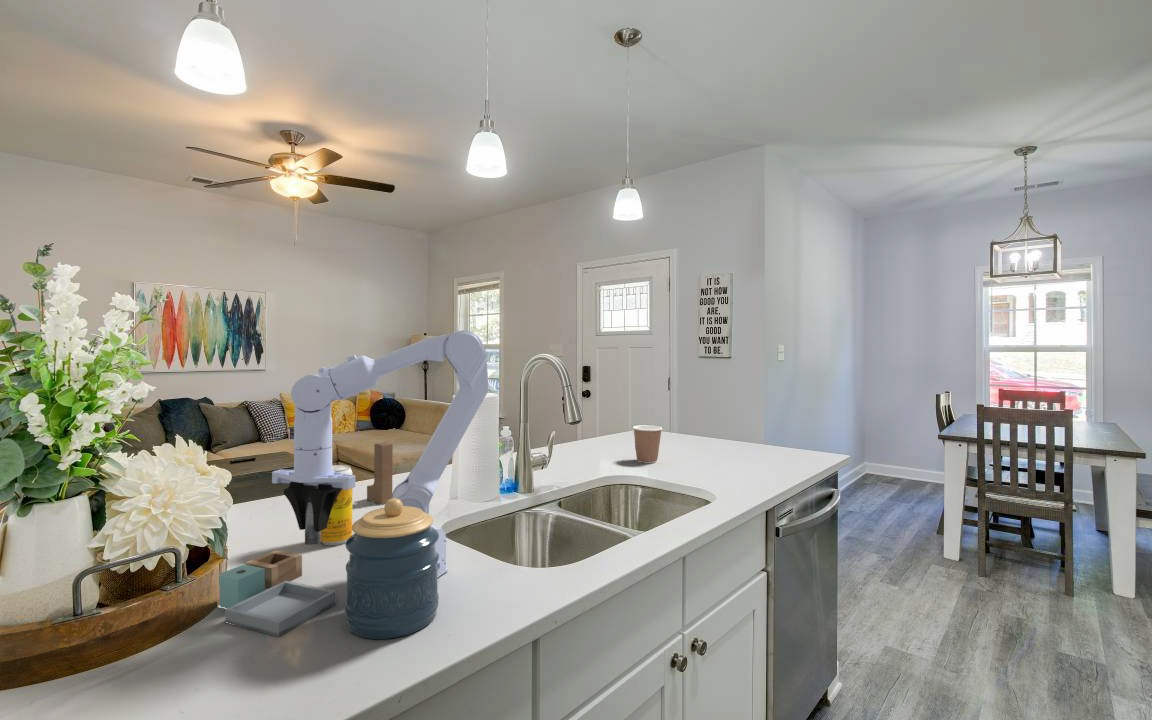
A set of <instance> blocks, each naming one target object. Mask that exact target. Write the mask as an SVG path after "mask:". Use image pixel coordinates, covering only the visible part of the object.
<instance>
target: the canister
mask: <svg viewBox="0 0 1152 720" xmlns="http://www.w3.org/2000/svg"><path fill="white" fill-rule="evenodd" d="M433 523H434V518H433V516H431V515H430V514H427V513H425V512H423V511H422V510H421V509H419V508H416V507H410V506H403V504H402V502H401V501H400V500H399V499H397V498H392V499H389V500H388V501H387V502H386V503H385V504H384V507H381V508H376V509H372V510H371V511H368V512H366V513H365V514H363V516H362V517H360V518H358V519H357V520H355V522H353V523H352V536H351V537H349V538H348V540H347V541H346V543H344V544H345V549H346V550H347V552H349V557H348V559H349V560H348V561H347V562H346V564H345V571H346V605H345V609H344V610H345V613H344V614H345V620H346V622H347V623H346V624H347V628H348V629H349V631H350V632H351V633H353V634H355V635H356V636H358V637H361V638H364V639H371V640H372V639H374V640H387V639H394V638H400V637H404V636H407V635H411V634H413V633H415V632H418V631H421V629H423V628H425V627H426V626H428V625H429V624H431V622H432V621H433V620H434V619H435V618H436V616H437V612H438V611H437V610H438V607H439V593H438V578H437V574H438V560H439V556H438V553H437V552H436V550H435V543H436V542H437V540H438V538H439V533H438V531H437V530H436V529H434V528H433V527H431V525H432V524H433Z"/></svg>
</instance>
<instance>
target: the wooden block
mask: <svg viewBox="0 0 1152 720" xmlns="http://www.w3.org/2000/svg"><path fill="white" fill-rule="evenodd" d="M393 445H394V444H393V443H392V442H391V443H390V442H385V441H383V442H377V443H374V445H373V447H374V450H373V451H374V453H373V455H374V457H373V458H374V461H373V463H374V464H373V465H374V466H373V471H374V472H373V474H374V475H373V480H374V482H373V484H370V485H367V486H366V500H367V501H369V502H373V503H375V504H378V505H381V504H382V505H385V503H386V502H387V501H388V500H389V499H392V493H393V457H394V456H393V453H394V452H393V449H394V448H393V447H394V446H393Z"/></svg>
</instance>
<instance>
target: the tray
mask: <svg viewBox="0 0 1152 720" xmlns="http://www.w3.org/2000/svg"><path fill="white" fill-rule="evenodd" d="M336 595H337V594H336V591H335V590H332V589H327V588H322V587H318V586H317V587H316V586H312V585H308V584H305V583H304V584H303V583H299V582H294V581H284V582H282V583H280V584H277V585H275V586H273V587H271V588H269V589H265V591H263V592H261V593H259V594H256V595H254V596H252V597H250V598H248V599H246V600H244V601H242V602H240V603H238V604H236V605H233V606H231V607H229V608H227V609H225V610H224V622H228V623H231V624H234V625H237V626H236V627H238V626H240V627H239V628H241V627H243V628H242V629H245V628H246V630H249V631H253V632H257V633H260V634H265V635H270V636H272V637H277V638H280V637H282V636H284V635H285V634H288V632H290V631H292V630H293V629H295V628H297V627H298V626H301V625H303V624H304V623H307V621H309V620H311V619H312V618H314V617H316V616H317V615H319V614H321V613H323V612H324V611H326V610H327V609H329V608H331V607H333V606H335V605H336V603H337V602H336ZM234 625H233V626H234Z"/></svg>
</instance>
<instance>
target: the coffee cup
mask: <svg viewBox="0 0 1152 720" xmlns="http://www.w3.org/2000/svg"><path fill="white" fill-rule="evenodd" d="M632 429H633V435H634V449H635V453H636V454H635V455H636V460H637V462H639V463H641V462H644V463H643V464H652V463H651V462H655V463H657V462H656V461H658V458H659V451H660V443H661V437H662V430H663V427H661V426H657V425H651V424H650V425H647V424H646V425H644V424H641V425H635V426H633V427H632Z"/></svg>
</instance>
